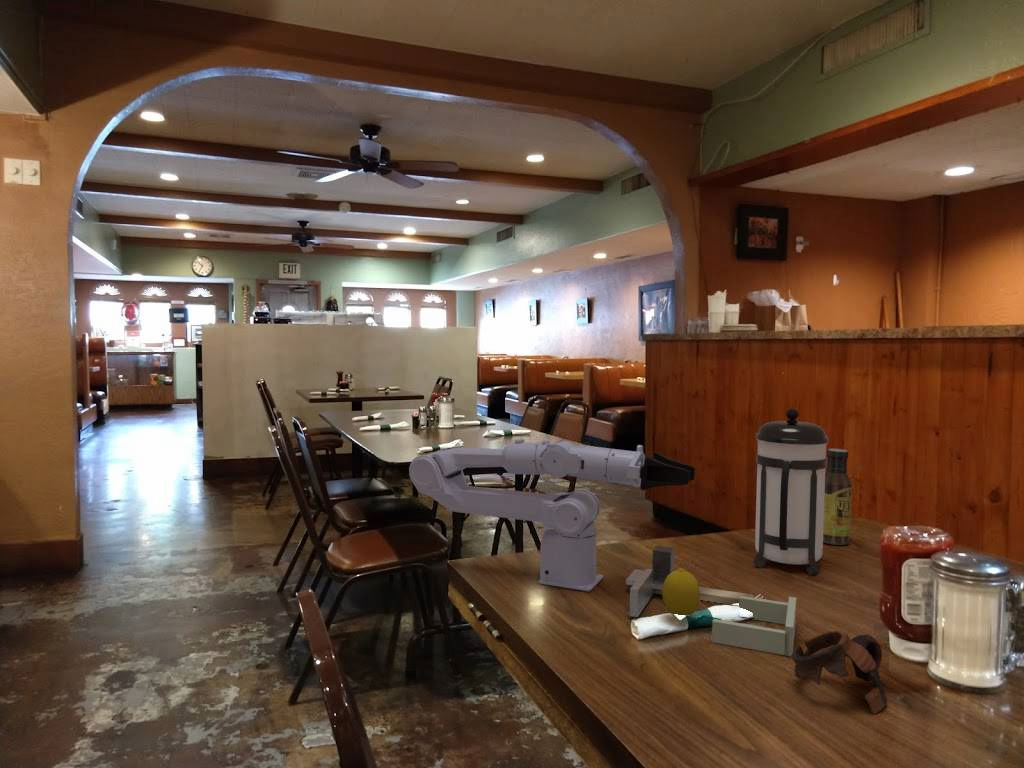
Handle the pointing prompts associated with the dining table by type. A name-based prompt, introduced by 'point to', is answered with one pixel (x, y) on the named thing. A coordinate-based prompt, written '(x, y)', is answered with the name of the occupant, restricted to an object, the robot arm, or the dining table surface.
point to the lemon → (681, 593)
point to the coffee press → (790, 492)
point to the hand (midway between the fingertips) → (691, 475)
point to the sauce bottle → (837, 499)
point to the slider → (650, 579)
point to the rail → (716, 595)
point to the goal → (758, 635)
